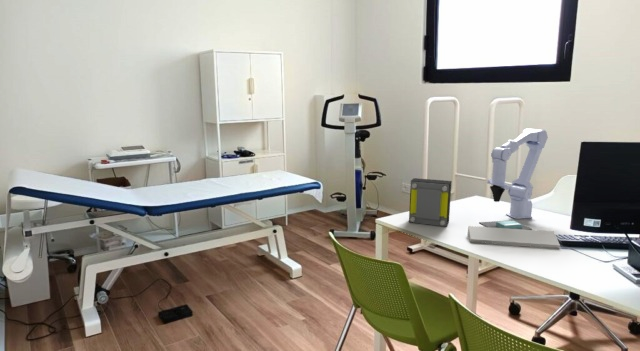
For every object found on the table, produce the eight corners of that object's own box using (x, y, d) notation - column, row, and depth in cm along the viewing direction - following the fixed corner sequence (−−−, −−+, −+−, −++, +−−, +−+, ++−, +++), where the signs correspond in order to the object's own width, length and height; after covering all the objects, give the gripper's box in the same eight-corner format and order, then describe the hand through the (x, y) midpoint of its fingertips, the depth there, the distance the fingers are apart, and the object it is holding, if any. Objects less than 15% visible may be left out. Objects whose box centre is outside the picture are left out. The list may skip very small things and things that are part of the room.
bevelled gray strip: (557, 255, 185) (551, 241, 194) (560, 245, 183) (553, 231, 191) (469, 248, 191) (467, 235, 200) (470, 239, 189) (468, 225, 198)
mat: (512, 220, 220) (512, 220, 220) (532, 229, 207) (532, 228, 207) (479, 223, 216) (479, 222, 216) (496, 232, 203) (497, 231, 203)
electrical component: (407, 223, 215) (409, 181, 212) (412, 217, 225) (414, 177, 221) (446, 227, 209) (449, 185, 205) (449, 221, 218) (451, 180, 214)
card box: (513, 220, 213) (522, 224, 207) (513, 224, 214) (521, 228, 208) (496, 221, 211) (504, 225, 205) (496, 225, 212) (504, 229, 206)
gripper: (482, 170, 221) (480, 198, 223) (500, 176, 207) (498, 205, 210) (495, 170, 222) (493, 197, 225) (514, 175, 209) (511, 204, 211)
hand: (496, 201), depth 217 cm, fingers closed
